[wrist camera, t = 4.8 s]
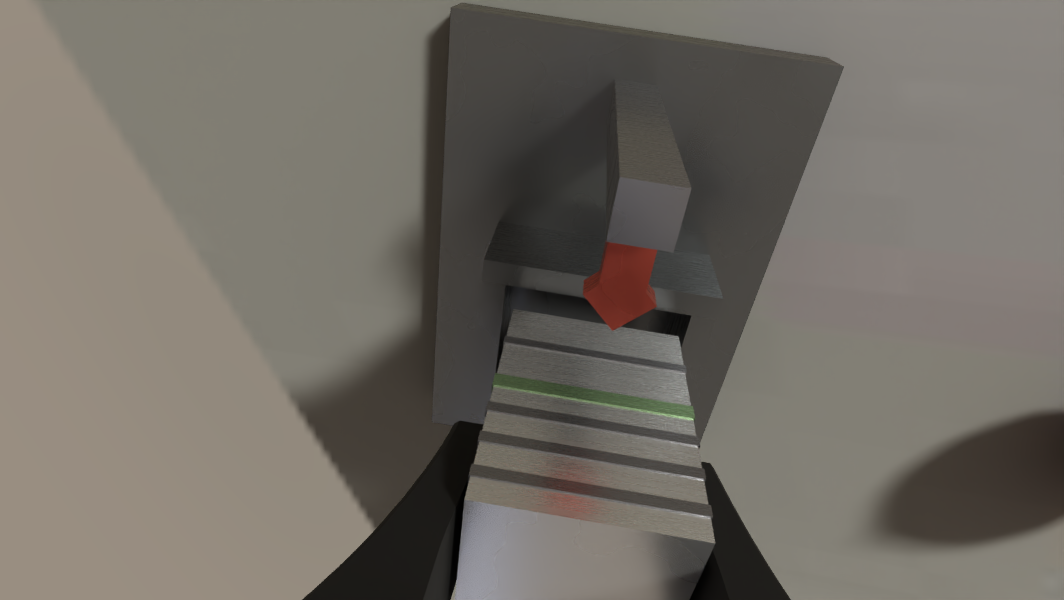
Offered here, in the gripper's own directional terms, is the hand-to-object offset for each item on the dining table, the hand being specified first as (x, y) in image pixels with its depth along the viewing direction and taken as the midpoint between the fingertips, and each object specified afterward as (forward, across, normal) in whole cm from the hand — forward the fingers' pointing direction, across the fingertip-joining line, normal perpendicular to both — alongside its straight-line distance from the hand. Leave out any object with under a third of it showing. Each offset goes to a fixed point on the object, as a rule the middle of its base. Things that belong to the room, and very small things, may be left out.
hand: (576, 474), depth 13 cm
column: (+3, 0, 0) cm, 3 cm away
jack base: (+7, 0, -2) cm, 7 cm away
